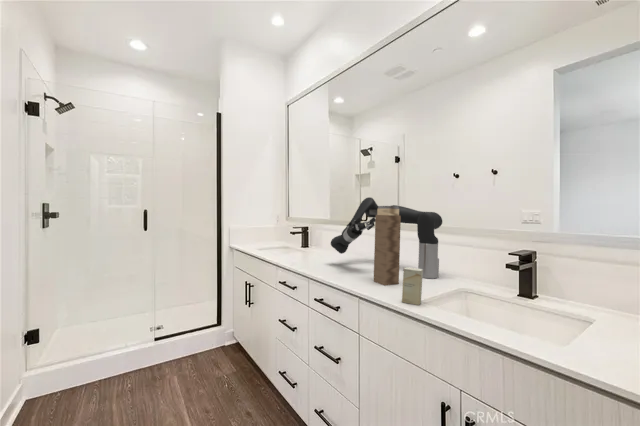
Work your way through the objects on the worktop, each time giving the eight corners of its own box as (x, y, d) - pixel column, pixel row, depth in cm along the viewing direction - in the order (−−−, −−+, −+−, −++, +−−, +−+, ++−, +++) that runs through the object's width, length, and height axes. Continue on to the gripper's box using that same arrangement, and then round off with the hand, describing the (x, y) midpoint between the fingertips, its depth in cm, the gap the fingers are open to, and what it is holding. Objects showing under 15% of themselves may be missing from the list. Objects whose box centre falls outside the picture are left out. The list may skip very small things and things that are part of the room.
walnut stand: (387, 280, 139) (389, 215, 138) (398, 284, 131) (400, 215, 131) (373, 281, 135) (375, 214, 135) (384, 285, 128) (386, 215, 128)
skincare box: (401, 302, 104) (402, 268, 104) (404, 299, 108) (405, 266, 108) (420, 305, 101) (421, 270, 101) (422, 302, 105) (423, 268, 105)
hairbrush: (376, 214, 146) (376, 206, 146) (399, 215, 131) (399, 206, 131) (366, 214, 143) (366, 206, 143) (388, 215, 128) (388, 205, 128)
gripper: (339, 226, 159) (354, 212, 146) (361, 226, 165) (377, 212, 152) (342, 239, 155) (357, 225, 143) (365, 238, 161) (381, 225, 149)
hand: (367, 218), depth 147 cm, fingers open, 8 cm apart
